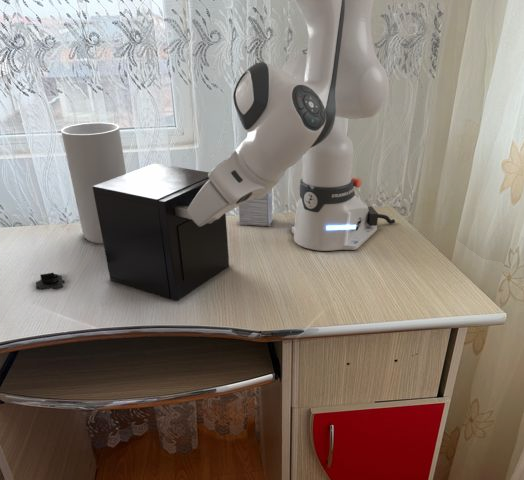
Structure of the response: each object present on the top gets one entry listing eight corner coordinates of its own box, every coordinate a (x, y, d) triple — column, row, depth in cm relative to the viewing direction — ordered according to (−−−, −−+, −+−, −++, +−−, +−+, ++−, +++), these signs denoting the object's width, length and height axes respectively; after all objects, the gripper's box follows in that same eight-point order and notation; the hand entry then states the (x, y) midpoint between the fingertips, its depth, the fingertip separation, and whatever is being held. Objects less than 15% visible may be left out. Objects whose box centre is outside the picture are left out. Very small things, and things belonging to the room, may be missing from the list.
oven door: (245, 270, 116) (241, 178, 105) (194, 306, 103) (183, 205, 92) (223, 265, 118) (216, 174, 107) (170, 299, 106) (157, 200, 95)
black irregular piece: (33, 270, 112) (61, 265, 114) (36, 280, 114) (63, 275, 115) (34, 282, 108) (63, 277, 109) (37, 292, 109) (65, 288, 111)
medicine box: (272, 220, 140) (272, 187, 135) (269, 227, 137) (268, 193, 132) (243, 218, 142) (242, 186, 137) (239, 225, 138) (237, 191, 133)
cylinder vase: (82, 247, 128) (59, 136, 114) (84, 228, 138) (63, 124, 124) (136, 241, 130) (119, 132, 116) (134, 223, 140) (118, 121, 126)
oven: (222, 265, 118) (216, 173, 107) (170, 299, 106) (157, 199, 94) (165, 250, 125) (155, 163, 114) (110, 281, 113) (92, 186, 101)
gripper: (270, 144, 99) (230, 190, 109) (205, 172, 85) (165, 222, 95) (292, 171, 100) (250, 215, 110) (231, 203, 85) (188, 250, 95)
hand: (210, 218), depth 102 cm, fingers closed, pressing on oven door
